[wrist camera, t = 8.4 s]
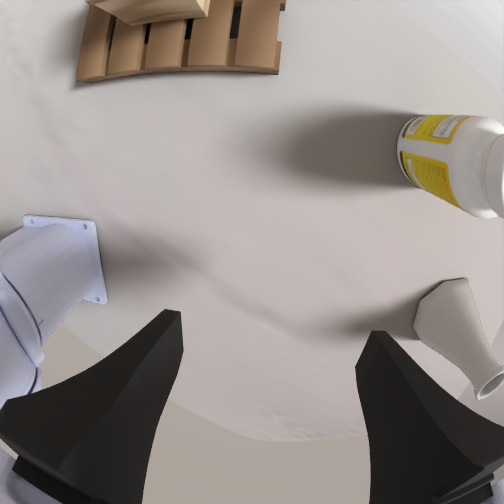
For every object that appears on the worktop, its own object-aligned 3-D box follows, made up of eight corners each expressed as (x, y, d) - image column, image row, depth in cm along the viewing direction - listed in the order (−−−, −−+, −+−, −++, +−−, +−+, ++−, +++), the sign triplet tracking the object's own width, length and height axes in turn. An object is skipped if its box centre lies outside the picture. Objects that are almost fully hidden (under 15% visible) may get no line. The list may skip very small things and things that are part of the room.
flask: (472, 265, 19) (536, 332, 10) (469, 321, 22) (513, 388, 13) (409, 294, 21) (460, 382, 12) (412, 348, 23) (446, 427, 14)
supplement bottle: (446, 195, 17) (534, 249, 8) (388, 178, 17) (475, 229, 8) (459, 128, 15) (557, 148, 6) (400, 104, 15) (499, 98, 6)
